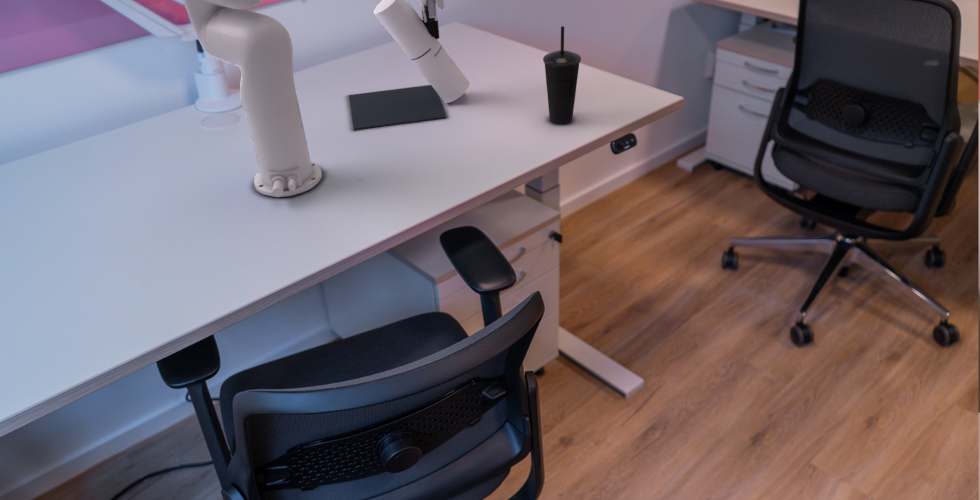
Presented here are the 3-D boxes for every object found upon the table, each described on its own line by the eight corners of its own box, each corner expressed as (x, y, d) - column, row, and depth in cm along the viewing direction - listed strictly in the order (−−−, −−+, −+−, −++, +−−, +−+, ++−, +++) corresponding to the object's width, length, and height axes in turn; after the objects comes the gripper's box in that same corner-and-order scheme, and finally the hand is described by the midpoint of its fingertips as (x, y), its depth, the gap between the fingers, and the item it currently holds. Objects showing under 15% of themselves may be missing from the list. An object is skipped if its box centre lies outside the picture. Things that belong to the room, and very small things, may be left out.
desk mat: (446, 118, 158) (446, 116, 158) (353, 130, 155) (353, 128, 155) (433, 86, 172) (433, 84, 172) (348, 96, 169) (348, 95, 169)
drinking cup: (578, 111, 158) (582, 20, 146) (579, 127, 152) (582, 33, 140) (543, 111, 159) (543, 20, 147) (542, 127, 152) (542, 33, 141)
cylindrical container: (439, 98, 168) (369, 11, 154) (462, 77, 168) (395, -12, 154) (449, 106, 162) (378, 16, 148) (473, 84, 162) (404, -8, 148)
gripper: (447, -44, 140) (454, 48, 151) (435, -62, 152) (443, 24, 163) (408, -40, 139) (418, 53, 150) (400, -58, 151) (410, 28, 162)
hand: (431, 38), depth 157 cm, fingers closed
